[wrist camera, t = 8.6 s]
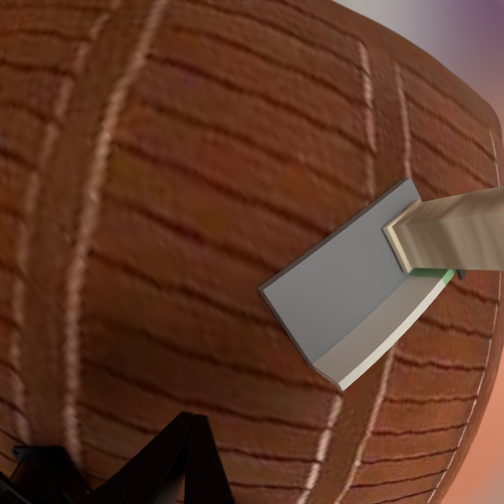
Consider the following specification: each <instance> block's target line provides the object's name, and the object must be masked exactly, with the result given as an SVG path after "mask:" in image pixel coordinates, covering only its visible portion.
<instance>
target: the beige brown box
mask: <svg viewBox="0 0 504 504" xmlns="http://www.w3.org/2000/svg"><path fill="white" fill-rule="evenodd" d="M383 230H384V232H385V234H386V236H387V238H388V240H389V242H390V244H391V246H392V248H393V250H394V253H395V255H396V257H397V259H398V261H399V263H400V265H401V268H402V270H403V272H404V273H409V272H410V271H411V270H412V269H413V268H436V269H456V271H457V274H458V277H459V279H463V278H464V276H465V275H466V271H465V269H467V270H502V271H504V186H500V187H495V188H490V189H485V190H480V191H475V192H470V193H465V194H460V195H455V196H450V197H445V198H441V199H436V200H431V201H426V202H421V201H420V199H416V200H414V201H413V202H412V203H411V204H410V205H408V206H407V207H406V208H405V209H404V210H403V211H402V212H401V213H399V214H398V215H397V216H396V217H395V218H394V219H393V220H392V221H390V222H389V223H388V224H387V225H386V226H385V227H383Z"/></svg>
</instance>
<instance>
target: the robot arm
mask: <svg viewBox="0 0 504 504" xmlns="http://www.w3.org/2000/svg"><path fill="white" fill-rule="evenodd" d="M16 451H17V452H16ZM59 451H60V452H61V453H60V452H59ZM12 453H13V454H14V456H15V457H16V459H17V460H18V462H19V464H18V466H17V467H16V469H15V470H14V472H13V474H12V475H11V477H10V479H8V478H7V477H5V476H4V474H3V473H2V472H1V471H0V504H175V503H176V500H177V497H178V494H179V491H180V488H181V485H182V482H183V479H184V476H185V497H184V504H236V501H235V499H234V497H233V494H232V491H231V488H230V485H229V482H228V479H227V477H226V474H225V471H224V468H223V465H222V462H221V458H220V455H219V452H218V449H217V446H216V443H215V439H214V436H213V433H212V429H211V426H210V423H209V419H208V417H207V416H206V415H200V414H195V415H194V414H193V413H190V412H185V411H182V412H181V413H179V414H178V415H177V416H176V417H175V418H174V419H173V420H172V421H171V422H170V423H169V424H168V425H167V426H166V427H165V428H164V429H163V430H162V431H161V432H160V433H159V434H158V435H157V436H156V437H155V438H154V439H153V440H152V441H150V442H149V443H148V444H147V445H146V446H145V447H144V448H143V449H142V450H141V451H140V452H139V453H138V454H137V455H135V456H134V457H133V458H132V459H131V460H130V461H129V462H128V463H127V464H126V465H124V466H123V467H122V468H121V469H120V470H119V471H120V472H119V471H118V472H116V473H115V474H114V475H113V476H112V477H111V478H110V479H108V480H107V481H106V482H105V483H103V484H102V485H101V486H99V487H98V488H97V489H95V490H94V491H92V490H91V489H90V488H89V486H88V484H87V483H86V482H85V480H84V479H83V477H82V476H81V474H80V473H79V472H78V470H77V469H76V467H75V466H74V465H73V463H72V461H71V460H70V458H69V457H68V455H67V454H66V452H65V450H64V449H63V448H62V447H60V446H47V447H17V446H14V447H13V448H12Z"/></svg>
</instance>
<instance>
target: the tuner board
mask: <svg viewBox="0 0 504 504" xmlns="http://www.w3.org/2000/svg"><path fill="white" fill-rule="evenodd" d="M416 199H420V201H421V202H422V200H421V198H420V196H419V194H418V192H417V190H416V188H415V186H414V184H413V182H412V180H411V178H407V179H403V180H400V181H399V182H398V183H396V184H395V185H394V186H393V187H391V188H390V189H389V190H387V191H386V192H385V193H384V194H382V195H381V196H380V197H379V198H377V199H376V200H375V201H373V202H372V203H371V204H369V205H368V206H367V207H366V208H364V209H363V210H362V211H360V212H359V213H358V214H357V215H355V216H354V217H353V218H351V219H350V220H349V221H347V222H346V223H345V224H343V225H342V226H341V227H339V228H338V229H337V230H335V231H334V232H333V233H331V234H330V235H329V236H328V237H326V238H325V239H323V240H322V241H321V242H319V243H318V244H317V245H315V246H314V247H313V248H311V249H310V250H309V251H307V252H306V253H305V254H303V255H302V256H301V257H299V258H298V259H297V260H295V261H294V262H292V263H291V264H290V265H288V266H287V267H286V268H284V269H283V270H281V271H280V272H279V273H277V274H276V275H275V276H273V277H272V278H270V279H269V280H268V281H266V282H265V283H263V284H262V285H261V286H259V287H258V288H257V289H258V291H259V292H260V294H261V295H262V297H263V298H264V300H265V301H266V303H267V304H268V306H269V307H270V309H271V310H272V312H273V313H274V315H275V316H276V318H277V319H278V321H279V322H280V324H281V325H282V327H283V328H284V330H285V331H286V333H287V334H288V336H289V337H290V339H291V340H292V342H293V343H294V345H295V346H296V348H297V349H298V351H299V352H300V353H301V355H302V356H303V358H304V359H305V361H306V362H307V364H308V365H309V367H310V368H312V369H313V370H314V371H316V372H317V373H319V374H321V375H322V376H323V377H325V378H326V379H327V380H329V381H330V382H332V383H333V384H334V385H336V386H337V387H338V388H340V389H341V390H343V391H344V390H345V389H346V388H347V387H348V386H349V385H351V384H352V383H353V382H354V381H355V380H356V379H357V378H358V377H360V376H361V375H362V374H363V373H364V372H365V371H366V370H367V369H368V368H369V367H370V366H372V365H373V364H374V363H375V362H376V361H377V360H378V359H379V358H380V357H381V356H382V355H383V354H384V353H385V352H386V351H387V350H388V349H389V348H390V347H391V346H392V345H393V344H394V343H395V342H396V341H397V340H398V339H399V338H400V337H401V336H402V335H403V334H404V333H405V332H406V331H407V329H408V328H409V327H410V326H411V325H412V324H413V323H414V322H415V321H416V320H417V319H418V317H419V316H420V315H421V314H422V313H423V312H424V311H425V309H426V308H427V307H428V306H429V305H430V304H431V303H432V301H433V300H434V299H435V298H436V297H437V295H438V294H439V293H440V292H441V290H442V289H443V288H444V287H445V286H446V284H447V283H448V282H449V280H450V279H451V278H452V277H453V275H454V274H455V273H456V269H436V268H413V269H412V270H411V271H410V272H409V273H404V272H403V270H402V268H401V265H400V263H399V261H398V259H397V257H396V255H395V253H394V250H393V248H392V246H391V244H390V242H389V240H388V238H387V236H386V234H385V232H384V230H383V227H385V226H386V225H387V224H388V223H389V222H390V221H392V220H393V219H394V218H395V217H396V216H397V215H398V214H399V213H401V212H402V211H403V210H404V209H405V208H406V207H407V206H408V205H410V204H411V203H412V202H413V201H414V200H416Z"/></svg>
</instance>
